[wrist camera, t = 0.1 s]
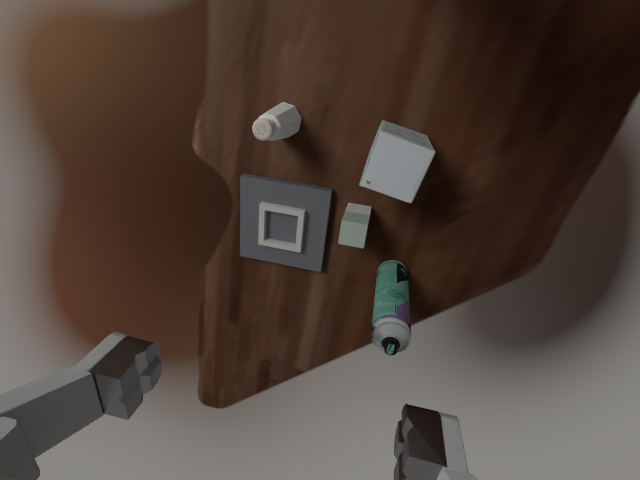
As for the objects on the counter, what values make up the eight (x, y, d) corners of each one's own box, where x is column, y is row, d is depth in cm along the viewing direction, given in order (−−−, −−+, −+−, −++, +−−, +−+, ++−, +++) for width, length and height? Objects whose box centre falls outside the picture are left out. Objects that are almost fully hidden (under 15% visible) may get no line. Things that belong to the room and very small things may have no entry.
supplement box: (408, 179, 55) (410, 206, 44) (364, 163, 55) (356, 186, 44) (428, 134, 51) (437, 151, 40) (382, 117, 52) (378, 129, 40)
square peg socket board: (243, 173, 60) (237, 177, 58) (332, 188, 58) (330, 193, 56) (243, 252, 67) (237, 258, 65) (322, 268, 65) (319, 275, 63)
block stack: (348, 202, 59) (341, 220, 51) (371, 206, 58) (368, 225, 51) (345, 223, 60) (338, 243, 53) (367, 227, 60) (363, 248, 53)
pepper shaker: (289, 144, 56) (266, 159, 46) (263, 122, 55) (235, 132, 46) (308, 117, 54) (289, 127, 44) (281, 94, 53) (256, 98, 43)
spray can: (382, 288, 65) (376, 368, 47) (373, 263, 63) (364, 338, 45) (411, 282, 63) (416, 363, 45) (403, 256, 61) (405, 331, 43)
